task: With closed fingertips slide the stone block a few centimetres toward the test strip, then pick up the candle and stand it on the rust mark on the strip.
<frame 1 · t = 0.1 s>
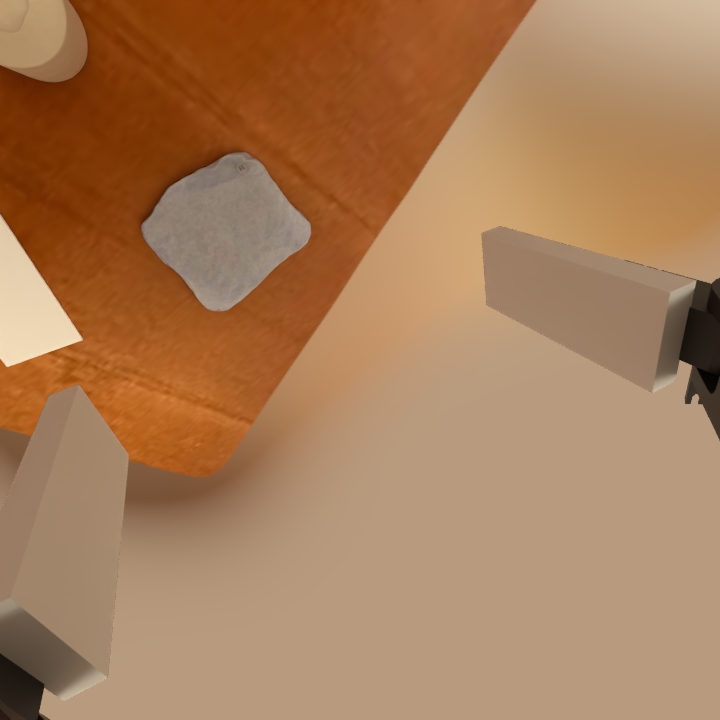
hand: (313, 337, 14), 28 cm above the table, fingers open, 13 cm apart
candle: (39, 33, 28), on the table
stone block: (222, 224, 38), on the table
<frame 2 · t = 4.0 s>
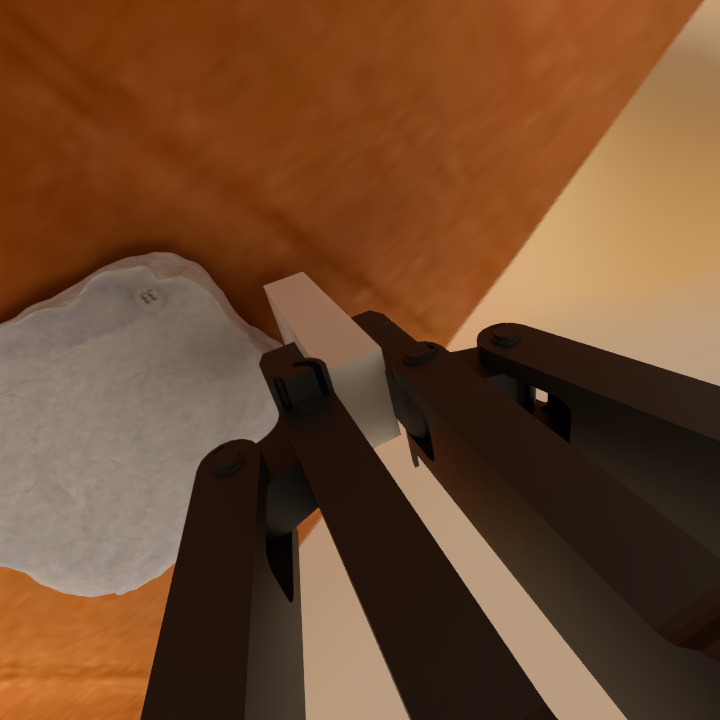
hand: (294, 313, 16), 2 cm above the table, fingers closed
stone block: (128, 393, 17), on the table, touching gripper
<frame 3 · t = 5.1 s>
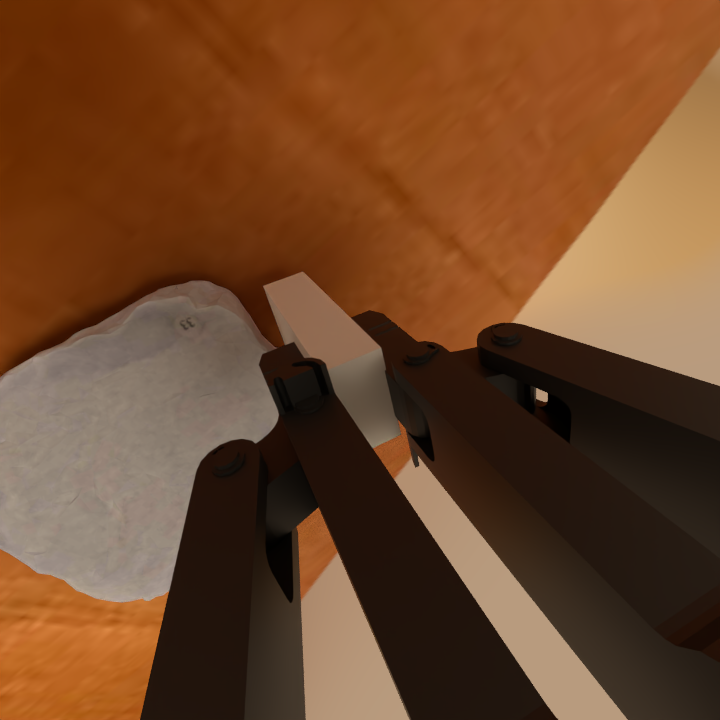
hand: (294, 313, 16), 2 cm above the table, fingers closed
stone block: (157, 408, 18), on the table, touching gripper
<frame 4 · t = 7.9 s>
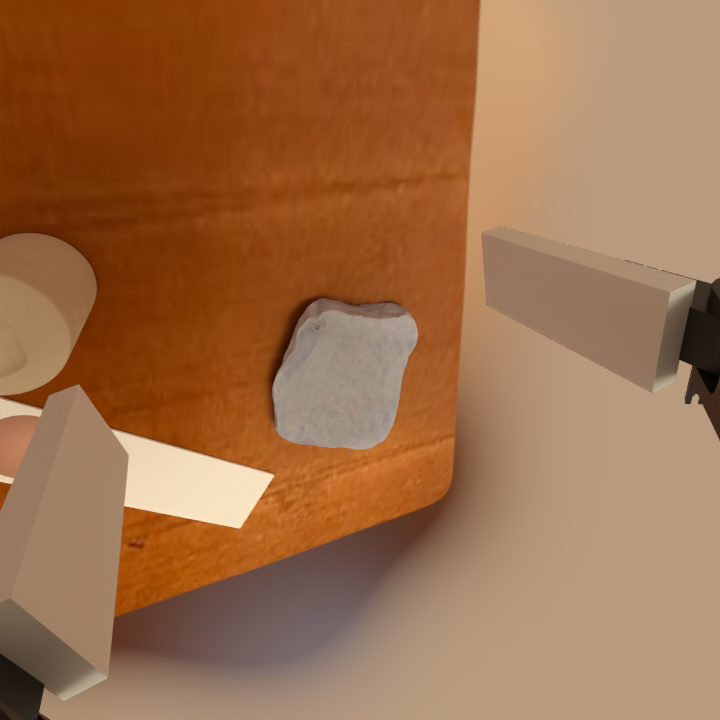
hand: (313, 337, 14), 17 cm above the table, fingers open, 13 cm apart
candle: (43, 279, 25), on the table
stone block: (330, 364, 35), on the table
test strip: (137, 472, 32), on the table
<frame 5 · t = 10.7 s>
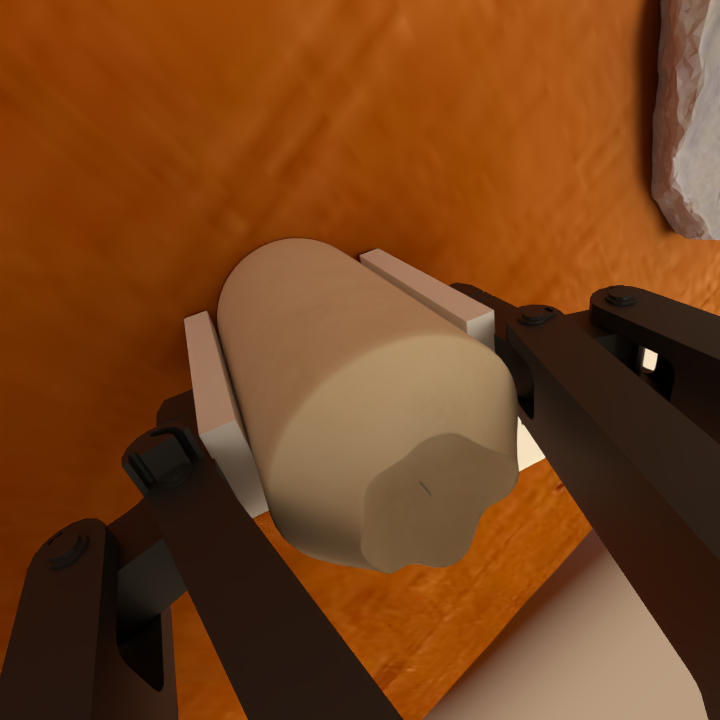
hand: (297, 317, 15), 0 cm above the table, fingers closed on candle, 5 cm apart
candle: (294, 311, 16), on the table, touching gripper
stone block: (709, 81, 19), on the table
test strip: (526, 425, 24), on the table
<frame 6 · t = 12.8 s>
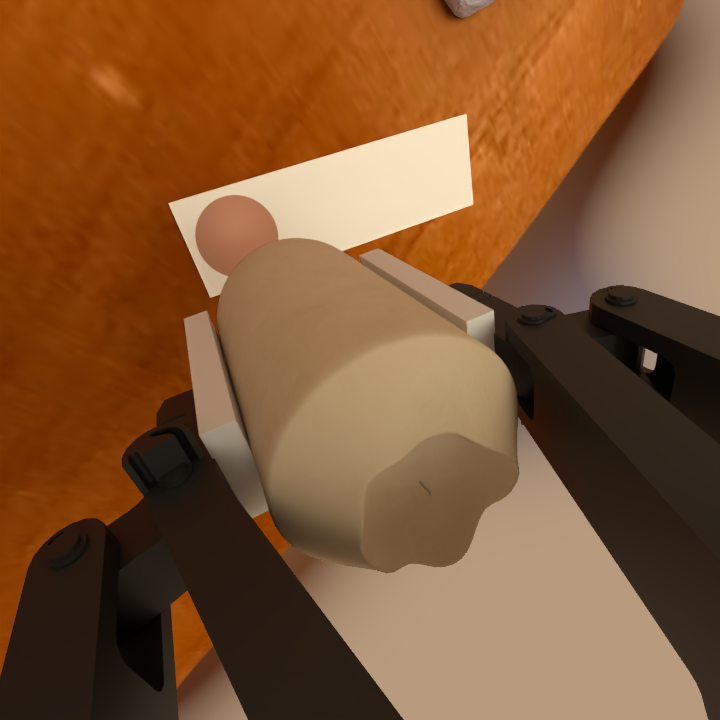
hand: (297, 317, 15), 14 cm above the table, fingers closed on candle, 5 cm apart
candle: (294, 311, 16), point 14 cm above the table, touching gripper
test strip: (339, 203, 29), on the table
when the fingers open (2 cm above the table, at t = 15.2 s): candle drops 1 cm, resting on test strip.
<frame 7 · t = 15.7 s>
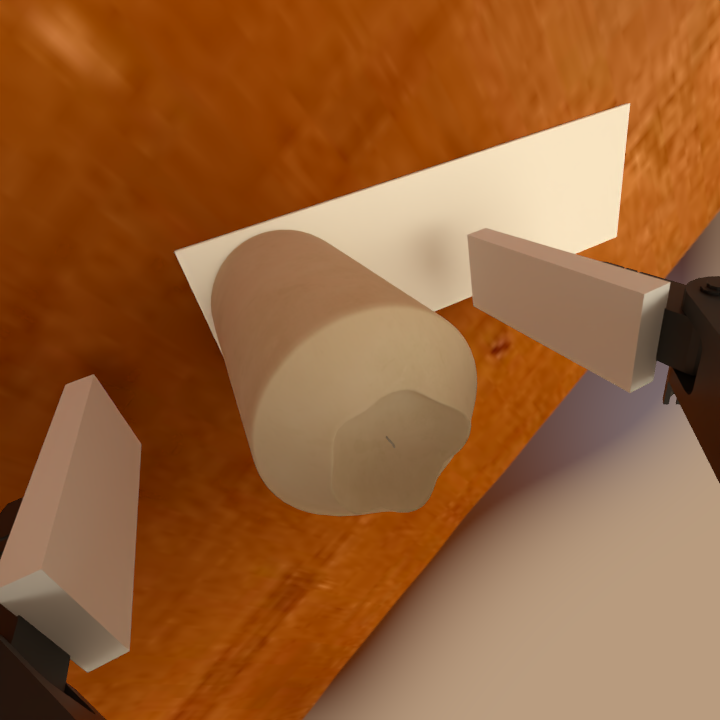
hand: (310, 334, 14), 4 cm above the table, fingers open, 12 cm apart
candle: (283, 299, 17), resting on test strip
test strip: (438, 241, 18), on the table
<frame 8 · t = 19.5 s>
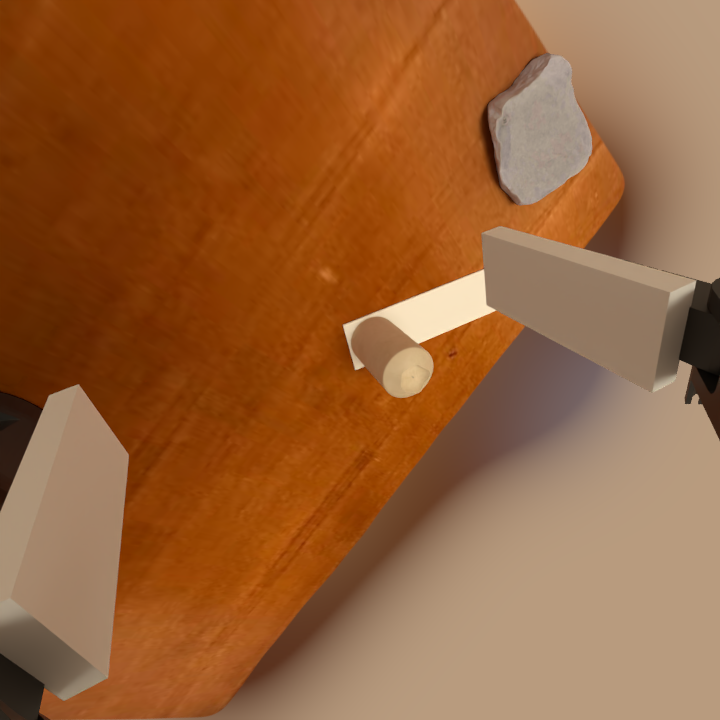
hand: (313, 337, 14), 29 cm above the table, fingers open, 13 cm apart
candle: (372, 338, 49), resting on test strip
stone block: (520, 139, 46), on the table
test strip: (426, 316, 51), on the table
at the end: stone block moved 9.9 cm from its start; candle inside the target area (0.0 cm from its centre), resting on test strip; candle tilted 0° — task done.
